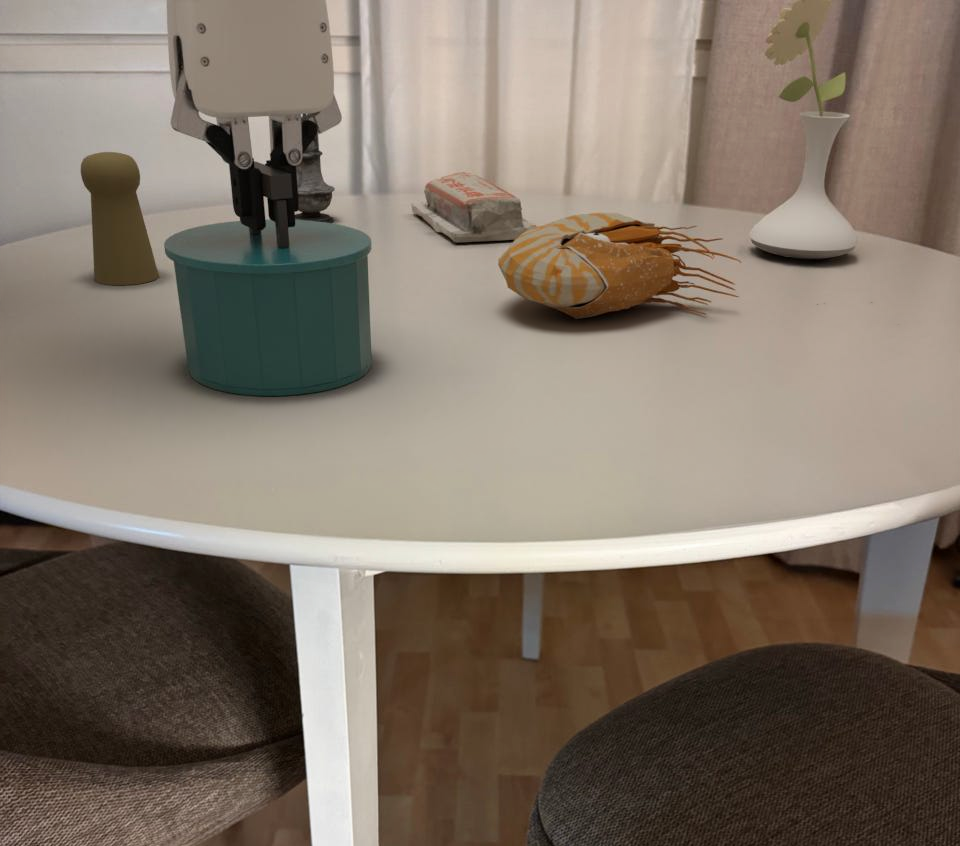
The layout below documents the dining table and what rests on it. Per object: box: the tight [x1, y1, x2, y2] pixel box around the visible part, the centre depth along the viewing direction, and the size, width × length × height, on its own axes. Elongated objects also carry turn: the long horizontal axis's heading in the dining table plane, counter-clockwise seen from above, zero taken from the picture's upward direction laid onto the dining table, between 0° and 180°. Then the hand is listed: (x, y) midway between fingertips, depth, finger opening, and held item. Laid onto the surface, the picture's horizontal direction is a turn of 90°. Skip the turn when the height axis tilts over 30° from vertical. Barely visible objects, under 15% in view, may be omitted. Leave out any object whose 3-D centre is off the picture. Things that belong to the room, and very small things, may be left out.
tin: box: [173, 254, 373, 397], centre depth 79 cm, size 14×14×8 cm
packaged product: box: [411, 171, 537, 244], centre depth 124 cm, size 18×5×10 cm
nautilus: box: [497, 212, 742, 320], centre depth 93 cm, size 8×22×15 cm
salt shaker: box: [295, 114, 335, 224], centre depth 123 cm, size 6×6×12 cm
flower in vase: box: [748, 0, 859, 260], centre depth 108 cm, size 13×11×25 cm
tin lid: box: [163, 161, 372, 274], centre depth 75 cm, size 15×15×6 cm
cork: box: [80, 151, 160, 286], centre depth 100 cm, size 6×6×11 cm
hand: (267, 223), depth 76 cm, fingers closed on tin lid, 1 cm apart
